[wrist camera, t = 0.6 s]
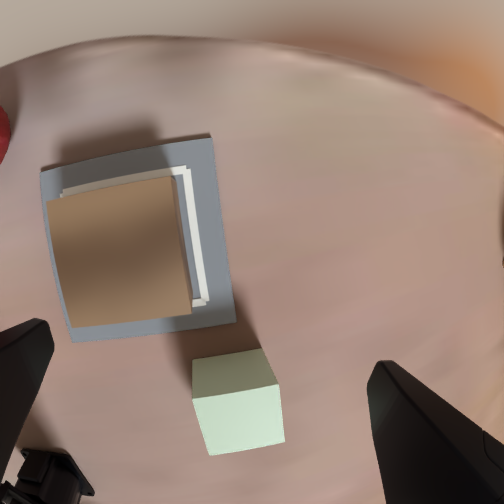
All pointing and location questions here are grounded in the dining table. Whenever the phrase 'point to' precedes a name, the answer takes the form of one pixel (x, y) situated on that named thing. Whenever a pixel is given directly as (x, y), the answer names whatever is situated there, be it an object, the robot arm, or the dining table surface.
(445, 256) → the dining table surface
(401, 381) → the robot arm
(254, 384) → the sage block
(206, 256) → the blueprint mat
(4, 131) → the onion
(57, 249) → the walnut base
